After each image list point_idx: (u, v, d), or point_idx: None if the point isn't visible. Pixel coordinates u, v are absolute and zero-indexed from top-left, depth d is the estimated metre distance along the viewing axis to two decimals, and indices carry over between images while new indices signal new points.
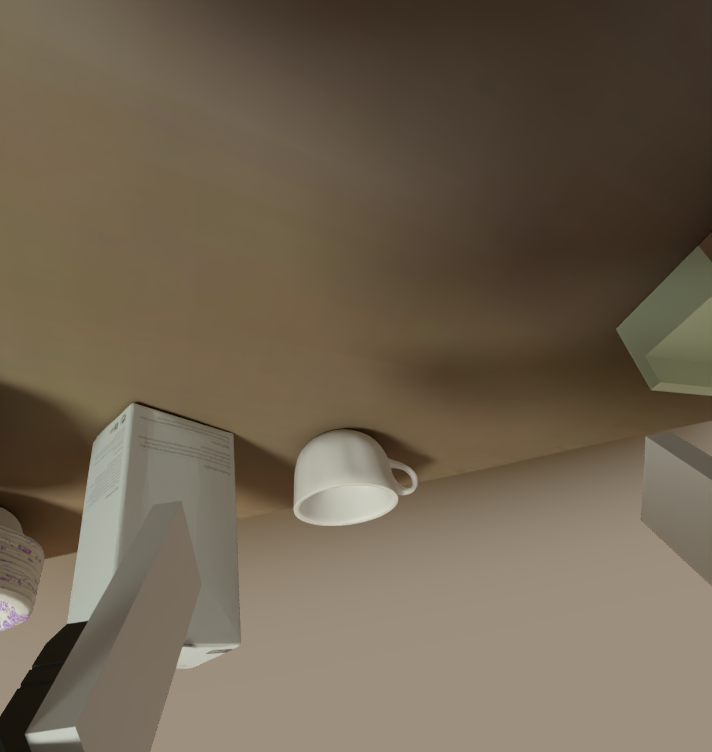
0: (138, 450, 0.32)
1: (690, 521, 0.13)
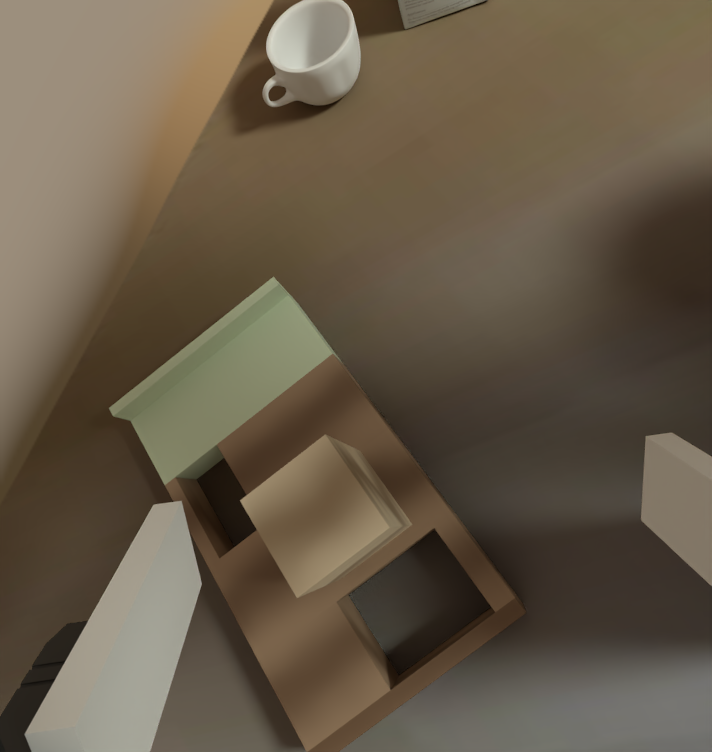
0: None
1: (690, 521, 0.13)
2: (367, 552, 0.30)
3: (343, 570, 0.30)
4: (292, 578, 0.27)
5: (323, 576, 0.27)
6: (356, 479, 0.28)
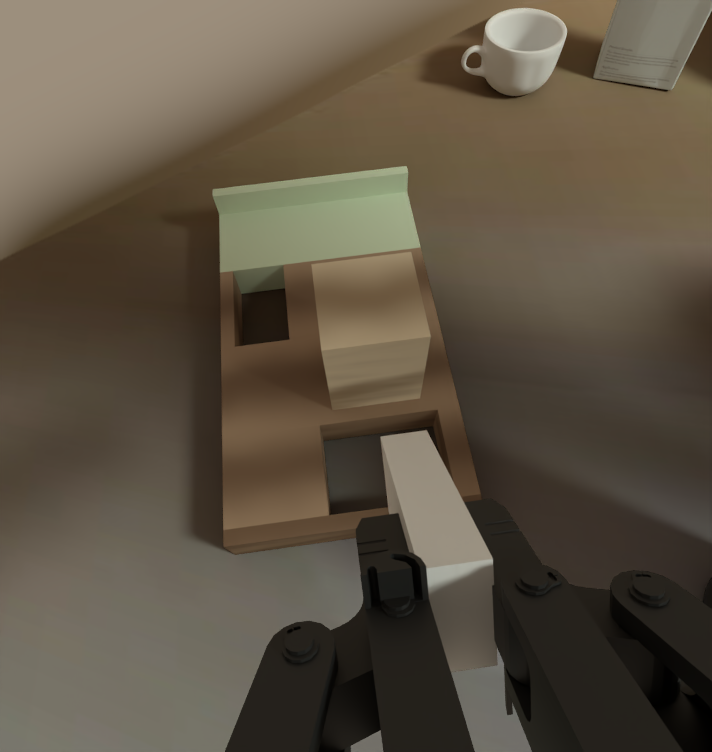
0: (681, 56, 0.51)
1: None
2: (383, 376, 0.32)
3: (355, 378, 0.32)
4: (325, 335, 0.29)
5: (353, 345, 0.28)
6: (420, 293, 0.30)
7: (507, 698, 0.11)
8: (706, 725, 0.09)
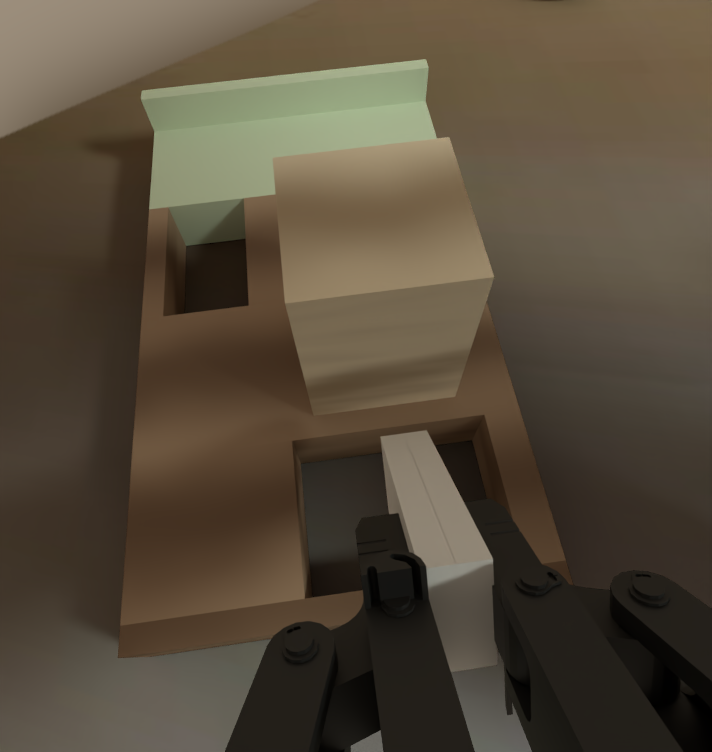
0: None
1: None
2: (398, 358, 0.18)
3: (350, 361, 0.18)
4: (292, 276, 0.15)
5: (347, 293, 0.15)
6: None
7: (507, 699, 0.11)
8: (706, 725, 0.09)
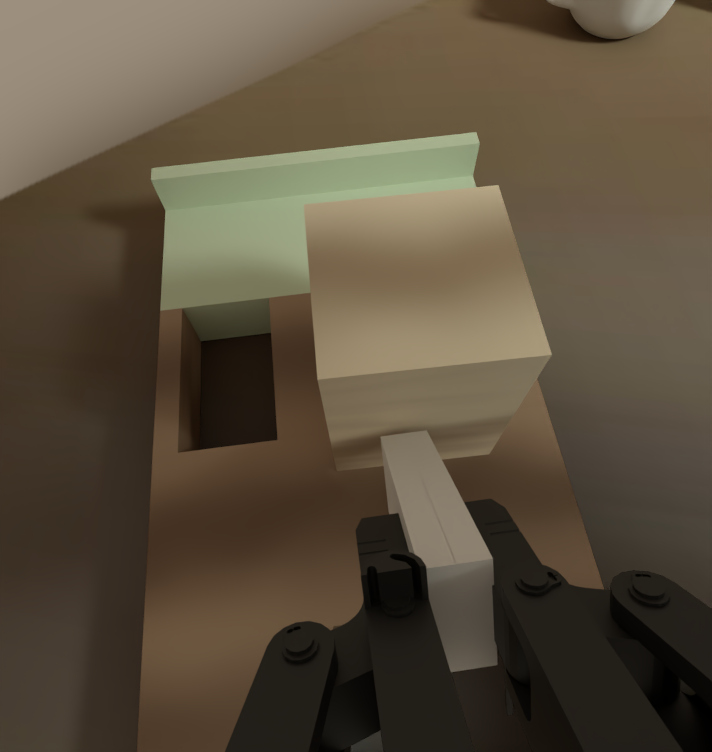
0: None
1: None
2: (434, 423, 0.17)
3: (382, 427, 0.17)
4: (326, 346, 0.14)
5: (386, 370, 0.13)
6: None
7: (507, 699, 0.11)
8: (706, 725, 0.09)
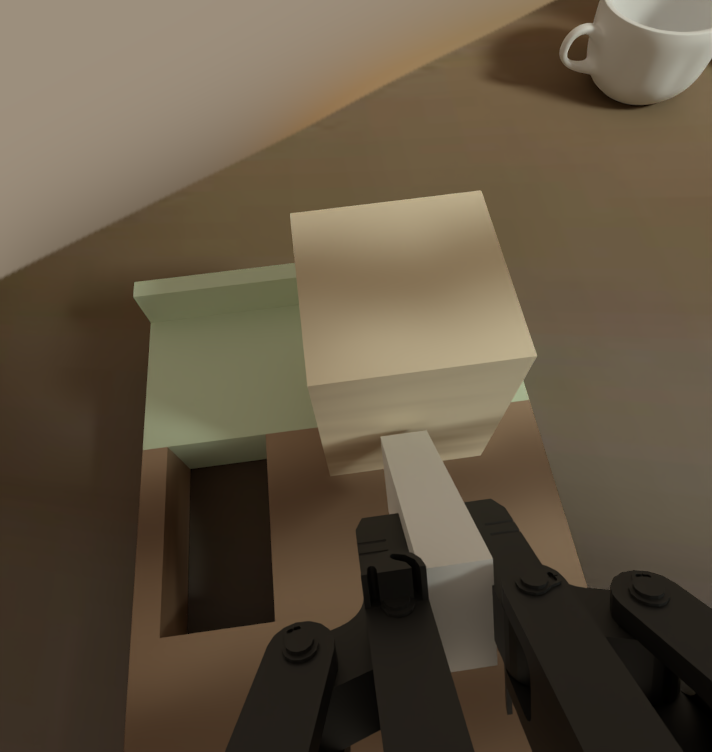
0: None
1: None
2: (425, 426, 0.17)
3: (373, 431, 0.17)
4: (315, 353, 0.14)
5: (375, 375, 0.13)
6: (505, 267, 0.15)
7: (507, 699, 0.11)
8: (706, 725, 0.09)
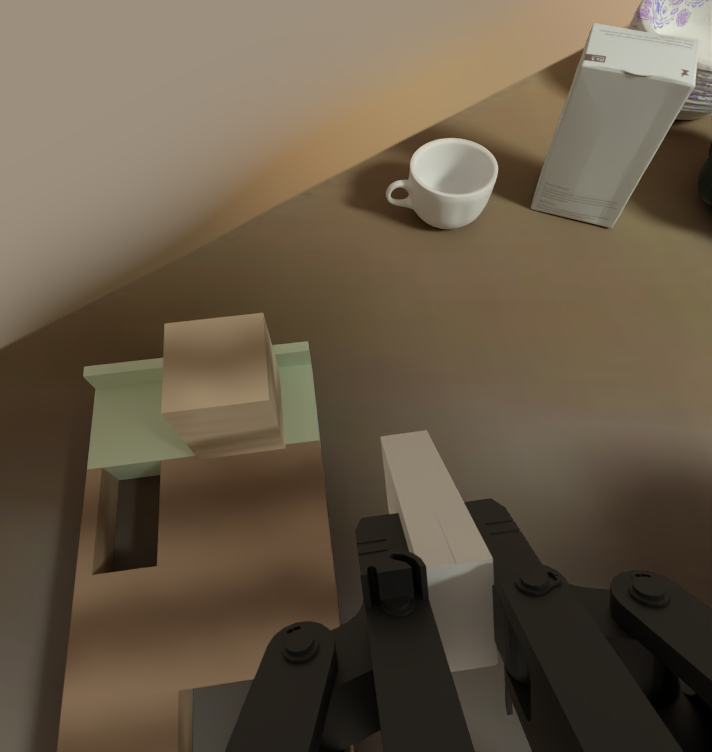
0: (619, 200, 0.47)
1: None
2: (237, 432, 0.33)
3: (209, 434, 0.33)
4: (166, 397, 0.29)
5: (193, 408, 0.29)
6: (266, 355, 0.31)
7: (507, 699, 0.11)
8: (706, 725, 0.09)
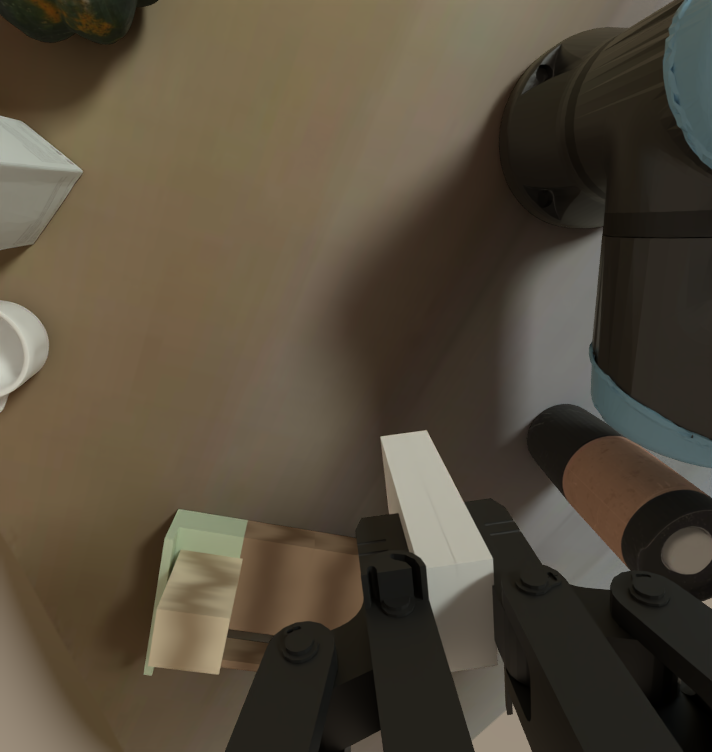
0: (60, 176, 0.40)
1: None
2: (232, 609, 0.48)
3: None
4: (208, 670, 0.45)
5: (221, 658, 0.45)
6: (194, 612, 0.43)
7: (507, 699, 0.11)
8: (706, 725, 0.09)
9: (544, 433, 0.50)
